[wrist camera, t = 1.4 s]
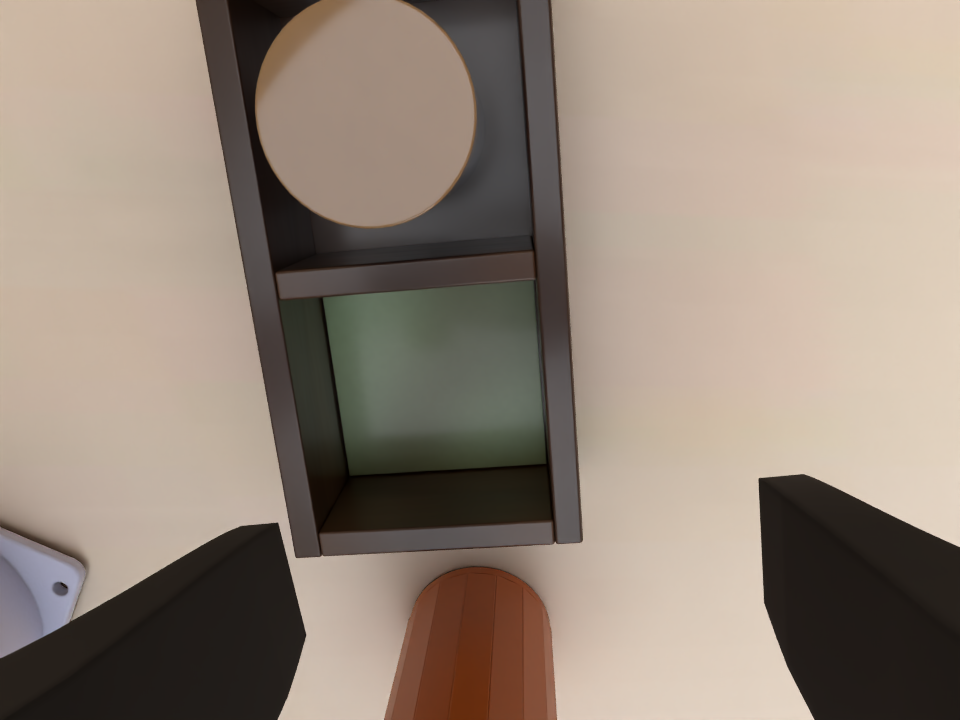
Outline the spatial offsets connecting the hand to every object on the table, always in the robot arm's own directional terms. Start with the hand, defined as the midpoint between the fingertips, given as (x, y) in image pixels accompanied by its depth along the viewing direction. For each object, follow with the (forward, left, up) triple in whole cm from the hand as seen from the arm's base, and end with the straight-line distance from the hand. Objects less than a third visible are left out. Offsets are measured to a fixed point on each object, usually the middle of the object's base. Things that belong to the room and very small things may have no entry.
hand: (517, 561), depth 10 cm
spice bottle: (-9, -3, -11) cm, 14 cm away
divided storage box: (+2, +4, -11) cm, 11 cm away
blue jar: (+5, +5, -10) cm, 12 cm away
